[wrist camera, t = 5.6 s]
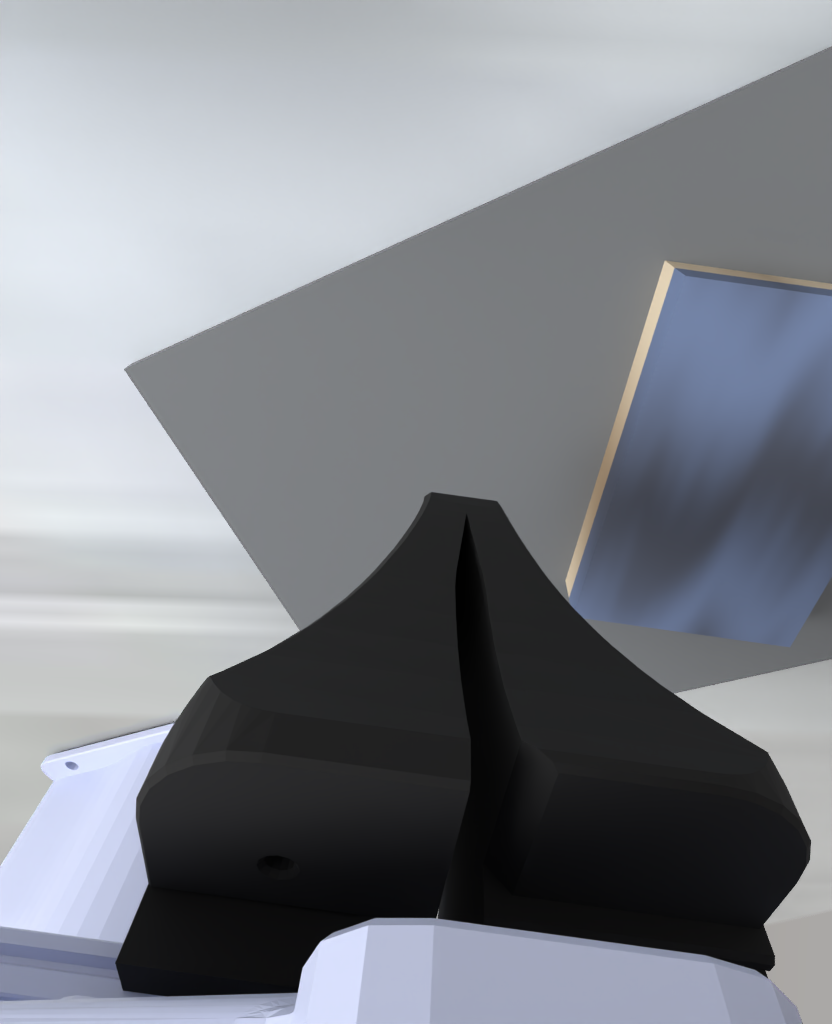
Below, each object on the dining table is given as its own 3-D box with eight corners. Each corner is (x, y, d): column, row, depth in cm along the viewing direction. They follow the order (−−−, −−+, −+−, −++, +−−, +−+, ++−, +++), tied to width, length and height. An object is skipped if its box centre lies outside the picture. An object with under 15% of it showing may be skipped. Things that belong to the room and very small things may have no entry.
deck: (565, 580, 19) (767, 608, 19) (572, 616, 17) (790, 647, 17) (664, 260, 14) (935, 298, 14) (685, 275, 13) (985, 318, 13)
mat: (386, 747, 24) (384, 756, 24) (131, 364, 17) (124, 369, 16) (1003, 610, 19) (1012, 619, 18) (1031, -45, 11) (1048, -49, 11)
